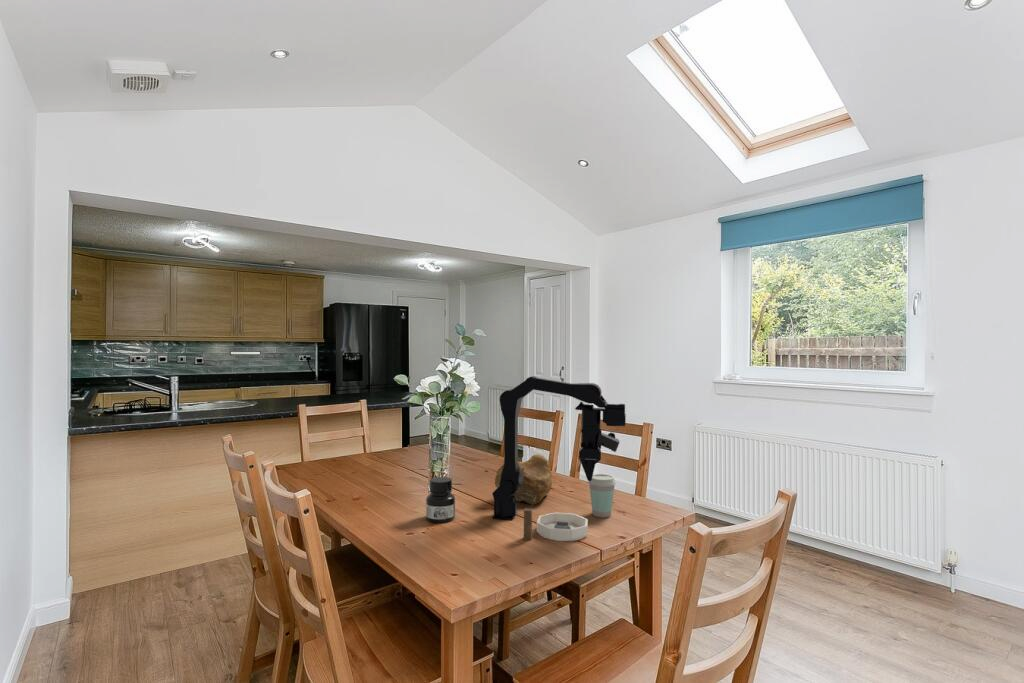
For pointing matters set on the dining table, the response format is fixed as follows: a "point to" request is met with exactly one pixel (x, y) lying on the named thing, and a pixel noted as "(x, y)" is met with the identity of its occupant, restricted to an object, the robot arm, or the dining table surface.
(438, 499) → the ink bottle
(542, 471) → the tan rock
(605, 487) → the coffee cup
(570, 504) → the dining table surface
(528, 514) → the tall wooden post
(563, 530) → the octagonal white tray
